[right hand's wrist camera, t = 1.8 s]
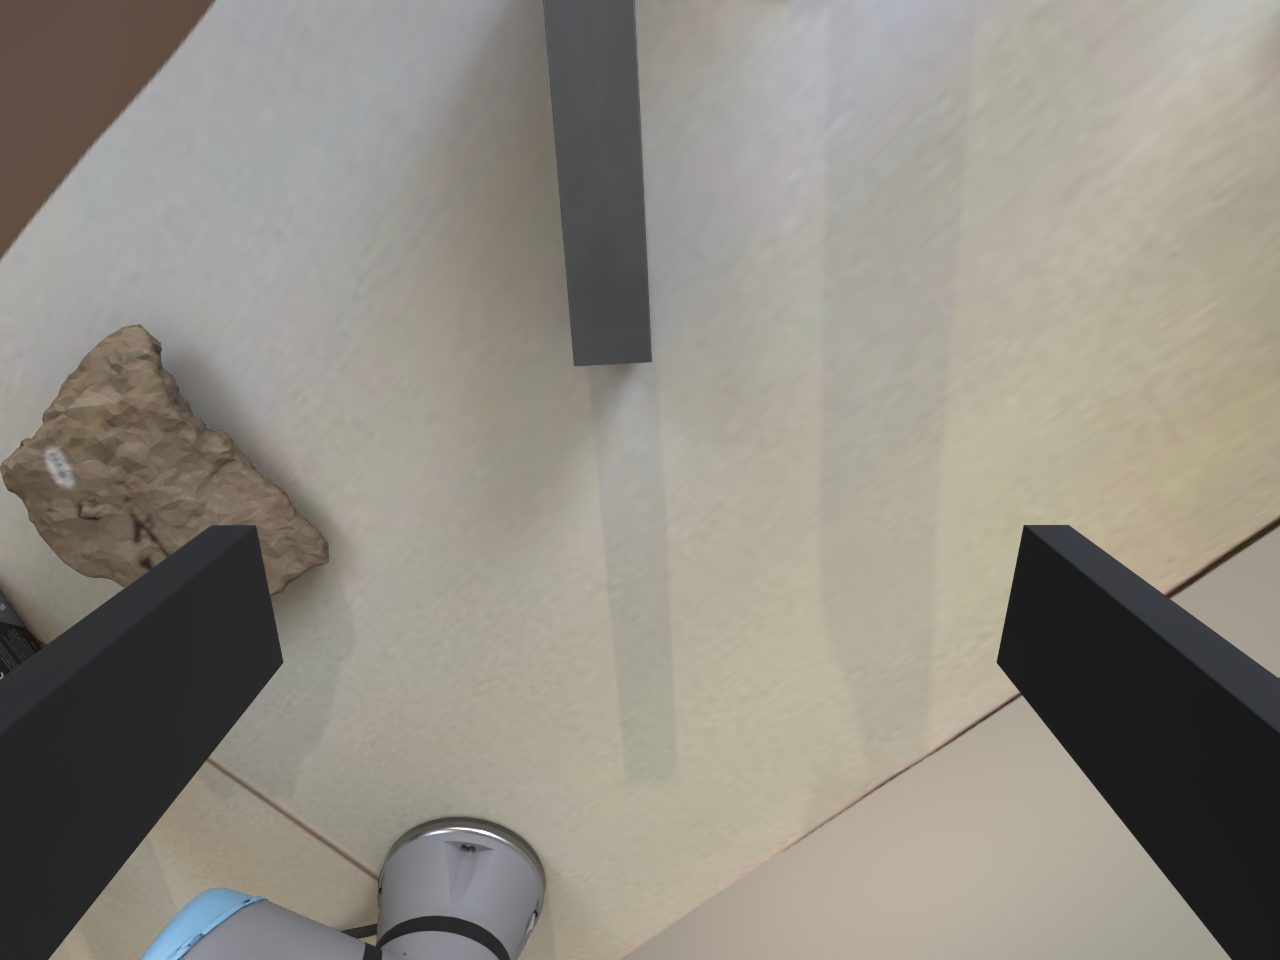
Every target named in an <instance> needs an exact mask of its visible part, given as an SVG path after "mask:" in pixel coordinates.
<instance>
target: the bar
mask: <svg viewBox="0 0 1280 960" xmlns="http://www.w3.org/2000/svg"><path fill="white" fill-rule="evenodd" d="M543 4H544V15H545V27H546V39H547V51H548V63H549V75H550V86H551V98H552V110H553V122H554V134H555V146H556V158H557V169H558V181H559V193H560V205H561V217H562V229H563V241H564V252H565V264H566V276H567V288H568V300H569V312H570V324H571V335H572V347H573V359H574V366H589V365H608V364H627V363H645V362H652V354H651V333H650V312H649V291H648V270H647V249H646V228H645V207H644V186H643V165H642V144H641V123H640V103H639V82H638V61H637V40H636V19H635V0H543Z"/></svg>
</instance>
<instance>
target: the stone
mask: <svg viewBox="0 0 1280 960" xmlns="http://www.w3.org/2000/svg"><path fill="white" fill-rule="evenodd" d="M161 350H162V349H161V343H160V342H159V341H158V340H157V339H156V338H154V337H153V336H152V335H150V334H149V333H148V332H147V330H146V329H145V328H143V327H142V326H141V325H140V324H139V325H133V326H128V327H123V328H121V329H120V330H118V331H117V332H115V333H113V334H111V335H109V336H107V337H106V338H105V339H103V340H102V341H101V342H100V343H99V344H98V345H97V346H96V347H95V348H94V349H93V350H91V351H90V352H89V353H88V354H87V355H86V356H85V357H84V358H83V360H82V361H81V363H80V365H79V367H78V368H77V369H76V370H75V371H74V372H73V373H71V374H69V375H68V377H67V379H66V381H65V382H64V383H63V385H62V386H61V389H60V392H59V395H58V397H57V398H56V399H55V400H54V401H53V403H52V404H51V406H50V407H49V408H48V409H47V410H46V411H45V412H44V414H43V418H42V419H43V423H44V424H43V425H42V426H41V427H40V429H39V430H38V431H37V433H36V435H35V436H34V437H33V438H32V439H30V438H26V439H25V440H23V441H21V446H20V447H19V448H18V449H16V451H15V452H14V453H13V454H12V455H11V456H10V457H9V458H7V459H6V460H4V461H3V462H2V464H1V466H0V471H1V473H2V478H3V480H4V483H5V486H6V487H7V489H8V491H10V492H13V493H15V494H16V495H18V496H19V497H20V498H21V499H22V500H23V502H24V504H25V506H26V508H27V510H28V514H29V520H30V521H31V522H32V523H34V525H35V527H36V529H37V531H38V533H39V534H40V536H41V537H42V538H43V539H44V540H45V542H46V543H47V544H48V545H49V546H50V548H51V549H52V550H53V551H54V552H55V553H56V555H57V556H58V557H59V558H60V559H61V560H62V561H63V562H64V563H65V564H67V565H68V566H70V567H71V568H73V569H75V570H76V571H78V572H79V573H81V574H83V575H85V576H87V577H93V578H100V577H102V578H107V579H111V580H114V581H115V582H117V583H118V584H120V585H121V586H123V587H127V586H129V585H130V584H131V583H133V582H134V581H135V580H137V579H138V578H140V577H141V576H142V575H144V574H145V573H146V572H148V571H149V570H151V569H152V568H153V567H155V566H156V565H157V564H159V563H160V562H162V561H163V560H164V559H166V558H167V557H168V556H170V555H171V554H172V553H174V552H175V551H177V550H178V549H179V548H181V547H182V546H183V545H185V544H186V543H188V542H189V541H190V540H192V539H193V538H194V537H196V536H197V535H198V534H200V533H201V532H203V531H204V530H205V529H207V528H208V527H209V526H211V525H256V527H257V532H258V537H259V542H260V547H261V552H262V557H263V563H264V568H265V573H266V578H267V583H268V588H269V593H270V596H272V595H275V594H277V593H280V592H283V590H284V589H285V587H286V586H287V584H288V583H290V582H292V581H293V580H295V579H296V578H298V577H300V575H301V574H303V573H304V572H306V571H307V570H309V569H310V568H312V567H313V566H315V565H323V564H325V563H327V562H329V552H328V542H327V541H326V540H325V539H324V538H323V536H322V535H321V533H320V532H319V530H317V529H316V528H315V527H314V526H313V525H312V524H311V523H310V522H308V521H307V520H306V519H305V518H304V517H302V516H300V515H299V514H298V513H297V512H296V511H295V508H294V506H293V505H292V504H291V503H290V500H289V497H288V494H287V493H286V492H285V491H283V490H282V489H280V488H279V487H277V486H276V485H274V484H273V483H272V482H271V480H269V479H267V478H264V477H263V476H262V475H261V474H260V473H259V472H258V471H257V470H256V469H255V468H254V466H253V465H252V463H251V461H250V459H249V458H248V457H247V456H245V455H244V454H243V453H242V452H241V451H240V450H239V449H238V448H237V447H236V446H235V444H234V442H233V440H232V438H231V437H230V436H229V435H228V434H227V433H226V432H224V431H213V432H211V431H209V430H208V429H207V427H206V425H205V424H204V422H203V421H201V420H200V419H199V418H197V417H195V416H193V413H192V411H191V408H190V406H189V403H188V401H187V400H186V399H185V398H184V397H183V396H181V395H179V390H178V389H179V387H178V385H177V383H176V381H175V379H174V377H173V376H172V375H171V374H170V373H168V372H167V371H166V370H164V368H163V367H162V364H161V354H160V353H161Z"/></svg>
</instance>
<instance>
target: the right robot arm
mask: <svg viewBox="0 0 1280 960" xmlns="http://www.w3.org/2000/svg"><path fill="white" fill-rule="evenodd" d="M282 664H283V658H282V653H281V648H280V643H279V638H278V633H277V628H276V623H275V618H274V613H273V608H272V603H271V598H270V593H269V588H268V583H267V578H266V573H265V568H264V563H263V557H262V552H261V547H260V542H259V537H258V532H257V527H256V525H211V526H209V527H208V528H207V529H205V530H204V531H203V532H201V533H200V534H198V535H197V536H196V537H194V538H193V539H192V540H190V541H189V542H188V543H186V544H185V545H183V546H182V547H181V548H179V549H178V550H177V551H175V552H174V553H172V554H171V555H170V556H168V557H167V558H166V559H164V560H163V561H162V562H160V563H159V564H157V565H156V566H155V567H153V568H152V569H151V570H149V571H148V572H146V573H145V574H144V575H142V576H141V577H140V578H138V579H137V580H135V581H134V582H133V583H131V584H130V585H129V586H127V587H126V588H125V589H123V590H122V591H120V592H119V593H118V594H116V595H115V596H114V597H112V598H111V599H109V600H108V601H107V602H105V603H104V604H103V605H101V606H100V607H99V608H97V609H96V610H94V611H93V612H92V613H90V614H89V615H88V616H86V617H85V618H83V619H82V620H81V621H79V622H78V623H77V624H75V625H74V626H73V627H71V628H70V629H68V630H67V631H66V632H64V633H63V634H62V635H60V636H59V637H57V638H56V639H55V640H53V641H52V642H51V643H49V644H48V645H47V646H45V647H44V648H42V649H41V650H40V651H38V652H37V653H36V654H34V655H33V656H31V657H30V658H29V659H27V660H26V661H25V662H23V663H22V664H20V665H19V666H18V667H16V668H15V669H14V670H12V671H11V672H10V673H8V674H7V675H5V676H4V677H3V678H1V679H0V960H48V959H49V958H50V957H51V955H52V954H53V953H54V952H55V950H56V949H57V948H58V947H59V945H60V944H61V943H62V942H63V940H64V939H65V938H66V936H67V935H68V934H69V933H70V931H71V930H72V929H73V928H74V926H75V925H76V924H77V923H78V921H79V920H80V919H81V918H82V916H83V915H84V914H85V912H86V911H87V910H88V909H89V907H90V906H91V905H92V904H93V902H94V901H95V900H96V899H97V897H98V896H99V895H100V894H101V892H102V891H103V890H104V888H105V887H106V886H107V885H108V883H109V882H110V881H111V880H112V878H113V877H114V876H115V875H116V873H117V872H118V871H119V870H120V868H121V867H122V866H123V864H124V863H125V862H126V861H127V859H128V858H129V857H130V856H131V854H132V853H133V852H134V851H135V849H136V848H137V847H138V846H139V844H140V843H141V842H142V840H143V839H144V838H145V837H146V835H147V834H148V833H149V832H150V830H151V829H152V828H153V827H154V825H155V824H156V823H157V822H158V820H159V819H160V818H161V816H162V815H163V814H164V813H165V811H166V810H167V809H168V808H169V806H170V805H171V804H172V803H173V801H174V800H175V799H176V798H177V796H178V795H179V794H180V792H181V791H182V790H183V789H184V787H185V786H186V785H187V784H188V782H189V781H190V780H191V779H192V777H193V776H194V775H195V774H196V772H197V771H198V770H199V768H200V767H201V766H202V765H203V763H204V762H205V761H206V760H207V758H208V757H209V756H210V755H211V753H212V752H213V751H214V750H215V748H216V747H217V746H218V744H219V743H220V742H221V741H222V739H223V738H224V737H225V736H226V734H227V733H228V732H229V731H230V729H231V728H232V727H233V726H234V724H235V723H236V722H237V720H238V719H239V718H240V717H241V715H242V714H243V713H244V712H245V710H246V709H247V708H248V707H249V705H250V704H251V703H252V702H253V700H254V699H255V698H256V696H257V695H258V694H259V693H260V691H261V690H262V689H263V688H264V686H265V685H266V684H267V683H268V681H269V680H270V679H271V678H272V676H273V675H274V674H275V672H276V671H277V670H278V669H279V667H280V666H281V665H282ZM997 664H998V665H999V666H1000V667H1001V669H1002V670H1003V671H1004V672H1005V674H1006V675H1007V676H1008V678H1009V679H1010V680H1011V681H1012V683H1013V684H1014V685H1015V686H1016V688H1017V689H1018V690H1019V691H1020V693H1021V694H1022V695H1023V696H1024V698H1025V699H1026V700H1027V702H1028V703H1029V704H1030V705H1031V707H1032V708H1033V709H1034V710H1035V712H1036V713H1037V714H1038V715H1039V717H1040V718H1041V719H1042V720H1043V722H1044V723H1045V724H1046V726H1047V727H1048V728H1049V729H1050V730H1051V732H1052V733H1053V734H1054V736H1055V737H1056V738H1057V739H1058V741H1059V742H1060V743H1061V744H1062V746H1063V747H1064V748H1065V750H1066V751H1067V752H1068V753H1069V755H1070V756H1071V757H1072V758H1073V760H1074V761H1075V762H1076V763H1077V765H1078V766H1079V767H1080V768H1081V770H1082V771H1083V772H1084V773H1085V775H1086V776H1087V777H1088V779H1089V780H1090V781H1091V782H1092V784H1093V785H1094V786H1095V787H1096V789H1097V790H1098V791H1099V792H1100V794H1101V795H1102V796H1103V798H1104V799H1105V800H1106V801H1107V803H1108V804H1109V805H1110V806H1111V808H1112V809H1113V810H1114V811H1115V813H1116V814H1117V815H1118V816H1119V818H1120V819H1121V820H1122V822H1123V823H1124V824H1125V825H1126V827H1127V828H1128V829H1129V830H1130V832H1131V833H1132V834H1133V835H1134V837H1135V838H1136V839H1137V840H1138V842H1139V843H1140V844H1141V845H1142V847H1143V848H1144V849H1145V851H1146V852H1147V853H1148V854H1149V856H1150V857H1151V858H1152V859H1153V861H1154V862H1155V863H1156V864H1157V866H1158V867H1159V868H1160V869H1161V871H1162V872H1163V873H1164V875H1165V876H1166V877H1167V878H1168V880H1169V881H1170V882H1171V883H1172V885H1173V886H1174V887H1175V888H1176V890H1177V891H1178V892H1179V893H1180V895H1181V896H1182V897H1183V899H1184V900H1185V901H1186V902H1187V904H1188V905H1189V906H1190V907H1191V909H1192V910H1193V911H1194V912H1195V914H1196V915H1197V916H1198V918H1199V919H1200V920H1201V921H1202V923H1203V924H1204V925H1205V926H1206V928H1207V929H1208V930H1209V931H1210V933H1211V934H1212V935H1213V936H1214V938H1215V939H1216V940H1217V941H1218V943H1219V944H1220V945H1221V947H1222V948H1223V949H1224V950H1225V952H1226V953H1227V954H1228V955H1229V957H1230V958H1231V959H1232V960H1280V678H1277V677H1276V676H1275V675H1273V674H1272V673H1270V672H1269V671H1268V670H1266V669H1265V668H1264V667H1262V666H1261V665H1260V664H1258V663H1257V662H1255V661H1254V660H1253V659H1251V658H1250V657H1249V656H1247V655H1246V654H1244V653H1243V652H1242V651H1240V650H1239V649H1238V648H1236V647H1235V646H1233V645H1232V644H1231V643H1229V642H1228V641H1227V640H1225V639H1224V638H1222V637H1221V636H1220V635H1218V634H1217V633H1216V632H1214V631H1213V630H1212V629H1210V628H1209V627H1207V626H1206V625H1205V624H1203V623H1202V622H1201V621H1199V620H1198V619H1196V618H1195V617H1194V616H1192V615H1191V614H1190V613H1188V612H1187V611H1186V610H1184V609H1183V608H1181V607H1180V606H1179V605H1177V604H1176V603H1175V602H1173V601H1172V600H1171V599H1169V598H1168V597H1166V596H1165V595H1164V594H1162V593H1161V592H1160V591H1158V590H1157V589H1155V588H1154V587H1153V586H1151V585H1150V584H1149V583H1147V582H1146V581H1144V580H1143V579H1142V578H1140V577H1139V576H1138V575H1136V574H1135V573H1134V572H1132V571H1131V570H1129V569H1128V568H1127V567H1125V566H1124V565H1123V564H1121V563H1120V562H1118V561H1117V560H1116V559H1114V558H1113V557H1112V556H1110V555H1109V554H1108V553H1106V552H1105V551H1103V550H1102V549H1101V548H1099V547H1098V546H1097V545H1095V544H1094V543H1092V542H1091V541H1090V540H1088V539H1087V538H1086V537H1084V536H1083V535H1082V534H1080V533H1079V532H1077V531H1076V530H1075V529H1073V528H1072V527H1071V526H1069V525H1024V527H1023V532H1022V537H1021V542H1020V547H1019V552H1018V557H1017V563H1016V568H1015V573H1014V578H1013V583H1012V588H1011V593H1010V598H1009V603H1008V608H1007V613H1006V618H1005V623H1004V628H1003V633H1002V638H1001V643H1000V648H999V653H998V658H997ZM544 892H545V874H544V870H543V867H542V864H541V862H540V860H539V858H538V856H537V855H536V853H535V852H534V850H533V849H532V848H531V847H530V846H529V845H528V844H527V843H526V842H525V841H524V840H523V839H522V838H520V837H519V836H518V835H516V834H515V833H513V832H512V831H510V830H508V829H506V828H504V827H502V826H500V825H497V824H495V823H492V822H488V821H485V820H480V819H475V818H467V817H450V818H442V819H437V820H432V821H429V822H426V823H423V824H421V825H419V826H416V827H414V828H413V829H411V830H409V831H408V832H406V833H405V834H404V835H402V836H401V837H400V838H399V839H398V840H397V841H396V842H395V844H394V845H393V846H392V848H391V849H390V851H389V853H388V855H387V857H386V860H385V863H384V865H383V868H382V870H381V873H380V876H379V881H378V906H379V916H378V923H377V924H373V925H368V926H364V927H359V928H353V929H349V930H345V931H341V932H340V931H337V930H335V929H333V928H330V927H328V926H326V925H323V924H321V923H319V922H316V921H314V920H312V919H309V918H307V917H305V916H302V915H300V914H298V913H295V912H293V911H291V910H288V909H286V908H284V907H281V906H279V905H277V904H274V903H272V902H270V901H268V899H266V898H263V897H259V896H256V897H252V896H249V895H246V894H243V893H240V892H237V891H234V890H231V889H228V888H214V889H210V890H207V891H205V892H203V893H201V894H200V895H198V896H196V897H195V898H194V899H193V900H191V901H190V902H189V903H188V904H187V905H186V906H185V907H184V908H183V909H182V910H181V911H180V912H179V913H178V914H177V915H176V916H175V917H174V918H173V919H172V921H171V922H170V923H169V924H168V925H167V926H166V927H165V929H164V930H163V931H162V932H161V933H160V935H159V936H158V937H157V938H156V939H155V941H154V942H153V943H152V944H151V946H150V947H149V948H148V950H147V951H146V952H145V953H144V955H143V956H142V957H141V959H140V960H517V959H518V957H519V955H520V953H521V951H522V950H523V948H524V946H525V944H526V942H527V940H528V938H529V935H530V933H531V931H532V930H533V928H534V926H535V924H536V922H537V920H538V918H539V916H540V914H541V910H542V906H543V899H544ZM373 935H377V944H376V947H375V946H373V945H370V944H368V943H366V942H363V941H361V940H358V939H359V938H364V937H369V936H373Z"/></svg>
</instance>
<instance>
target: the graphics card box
mask: <svg viewBox="0 0 1280 960" xmlns="http://www.w3.org/2000/svg"><path fill="white" fill-rule="evenodd" d="M40 650H41V647H40V646H39V645H38V643H37V642H36V640H35V639H34V638H33V636H32V634H31V633H30V632H29V631H28V629H27V628H26V626H25V625H24V623H23V622H22V620H21V619H20V618H19V616H18V615H17V614H16V612H15V611H14V609H13V608H12V607H11V606H10V604H9V602H8V601H7V600H6V598H5V597H4V596H3V594H2V593H1V592H0V679H1V678H3V677H4V676H5V675H7V674H8V673H10V672H11V671H12V670H14V669H15V668H16V667H18V666H19V665H20V664H22V663H23V662H25V661H26V660H27V659H29V658H30V657H31V656H33V655H34V654H36V653H37V652H38V651H40Z"/></svg>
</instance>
